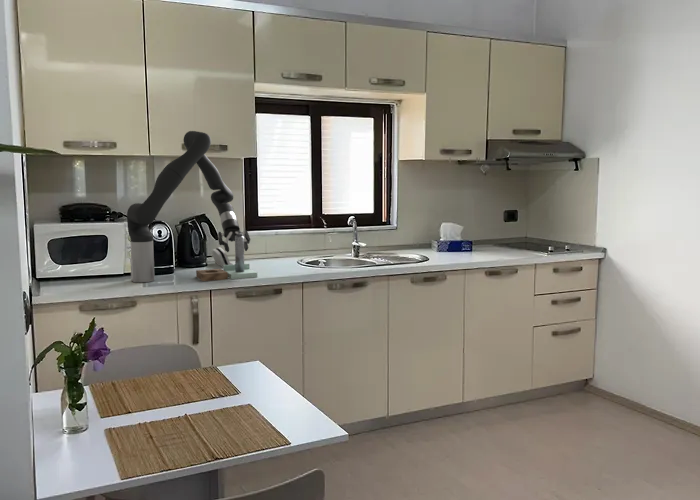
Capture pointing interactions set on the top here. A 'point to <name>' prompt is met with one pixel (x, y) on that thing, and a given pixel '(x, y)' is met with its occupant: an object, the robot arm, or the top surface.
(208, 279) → the socket block
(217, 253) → the grey curved piece
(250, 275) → the rack base
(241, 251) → the rod
